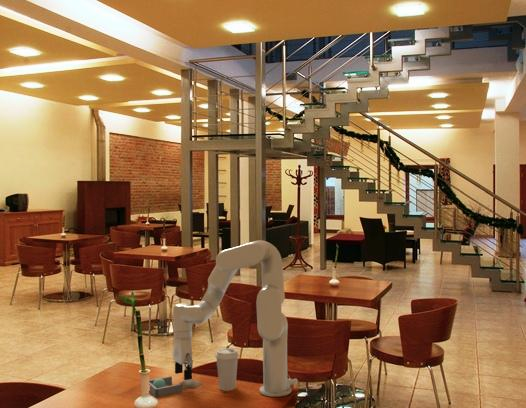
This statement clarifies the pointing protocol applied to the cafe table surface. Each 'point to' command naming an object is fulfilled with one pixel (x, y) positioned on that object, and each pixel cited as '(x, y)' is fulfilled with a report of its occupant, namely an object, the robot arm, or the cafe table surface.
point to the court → (165, 388)
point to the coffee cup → (227, 368)
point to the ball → (159, 383)
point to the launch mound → (190, 384)
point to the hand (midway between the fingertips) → (183, 376)
